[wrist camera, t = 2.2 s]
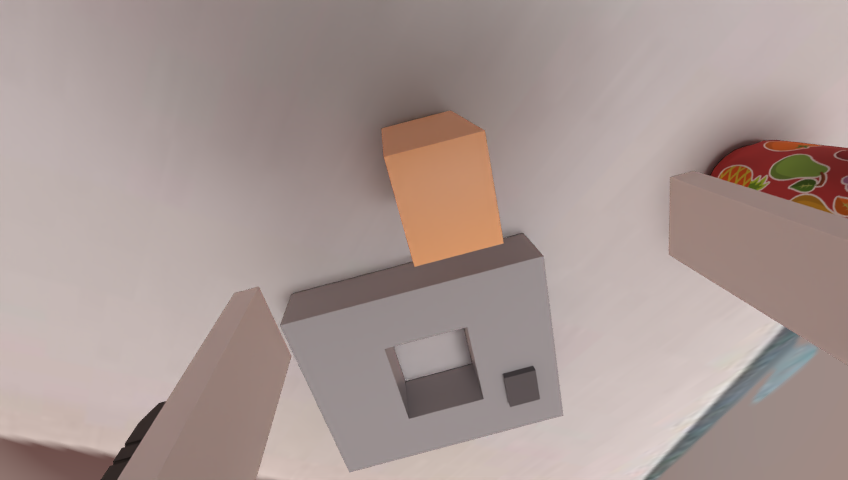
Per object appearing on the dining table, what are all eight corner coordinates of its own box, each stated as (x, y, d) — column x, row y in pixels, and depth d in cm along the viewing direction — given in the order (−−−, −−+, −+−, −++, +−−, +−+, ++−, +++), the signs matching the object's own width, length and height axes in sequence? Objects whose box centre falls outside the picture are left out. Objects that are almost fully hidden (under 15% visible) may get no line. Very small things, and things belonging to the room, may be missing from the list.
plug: (380, 125, 26) (383, 156, 17) (446, 107, 26) (484, 130, 17) (401, 202, 28) (414, 266, 19) (462, 186, 28) (503, 243, 19)
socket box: (291, 294, 30) (278, 330, 26) (523, 233, 30) (546, 259, 26) (352, 431, 36) (349, 478, 32) (544, 380, 36) (565, 420, 32)
